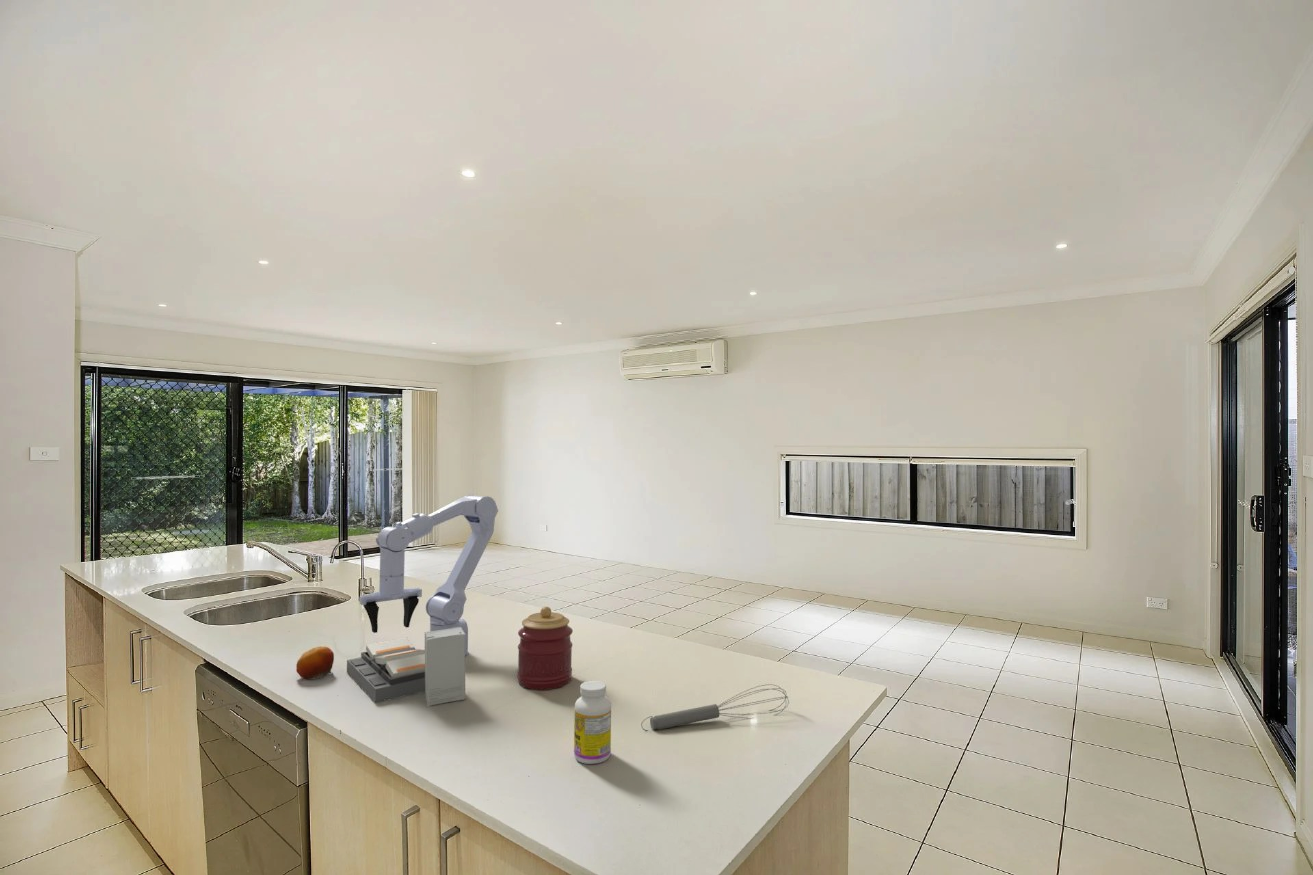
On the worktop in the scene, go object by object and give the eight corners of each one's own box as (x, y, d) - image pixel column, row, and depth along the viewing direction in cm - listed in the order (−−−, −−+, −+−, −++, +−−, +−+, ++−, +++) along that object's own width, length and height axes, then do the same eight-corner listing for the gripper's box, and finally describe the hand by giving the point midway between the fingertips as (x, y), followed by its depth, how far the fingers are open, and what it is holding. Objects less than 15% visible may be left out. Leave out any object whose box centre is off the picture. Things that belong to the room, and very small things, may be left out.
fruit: (324, 677, 144) (310, 646, 145) (299, 692, 146) (285, 662, 147) (348, 666, 152) (334, 637, 153) (324, 680, 153) (310, 651, 154)
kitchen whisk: (637, 725, 125) (637, 694, 125) (779, 707, 135) (780, 679, 135) (645, 738, 119) (646, 706, 119) (794, 718, 129) (794, 689, 130)
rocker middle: (417, 654, 154) (417, 648, 154) (425, 655, 150) (425, 649, 150) (375, 663, 148) (375, 656, 148) (382, 664, 143) (382, 657, 144)
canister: (582, 676, 151) (583, 604, 152) (551, 694, 140) (553, 616, 140) (538, 667, 157) (539, 598, 157) (505, 684, 145) (507, 609, 145)
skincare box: (461, 691, 141) (463, 625, 141) (465, 700, 136) (467, 632, 136) (422, 697, 137) (424, 630, 138) (425, 707, 132) (426, 637, 132)
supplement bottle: (574, 748, 114) (575, 678, 115) (610, 747, 115) (611, 677, 115) (572, 766, 108) (574, 692, 108) (610, 765, 108) (611, 691, 109)
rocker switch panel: (403, 655, 165) (404, 639, 165) (443, 686, 143) (443, 668, 143) (342, 667, 155) (343, 650, 155) (375, 702, 134) (375, 683, 134)
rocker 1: (406, 642, 160) (407, 636, 160) (414, 652, 156) (414, 646, 156) (365, 649, 154) (366, 643, 154) (372, 660, 150) (372, 654, 149)
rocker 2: (429, 658, 148) (429, 652, 148) (437, 669, 144) (438, 663, 144) (385, 667, 142) (386, 660, 141) (392, 679, 137) (393, 672, 137)
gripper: (365, 581, 148) (364, 638, 147) (426, 574, 157) (425, 627, 157) (357, 576, 153) (356, 631, 153) (417, 569, 162) (415, 621, 162)
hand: (390, 629), depth 155 cm, fingers open, 7 cm apart
